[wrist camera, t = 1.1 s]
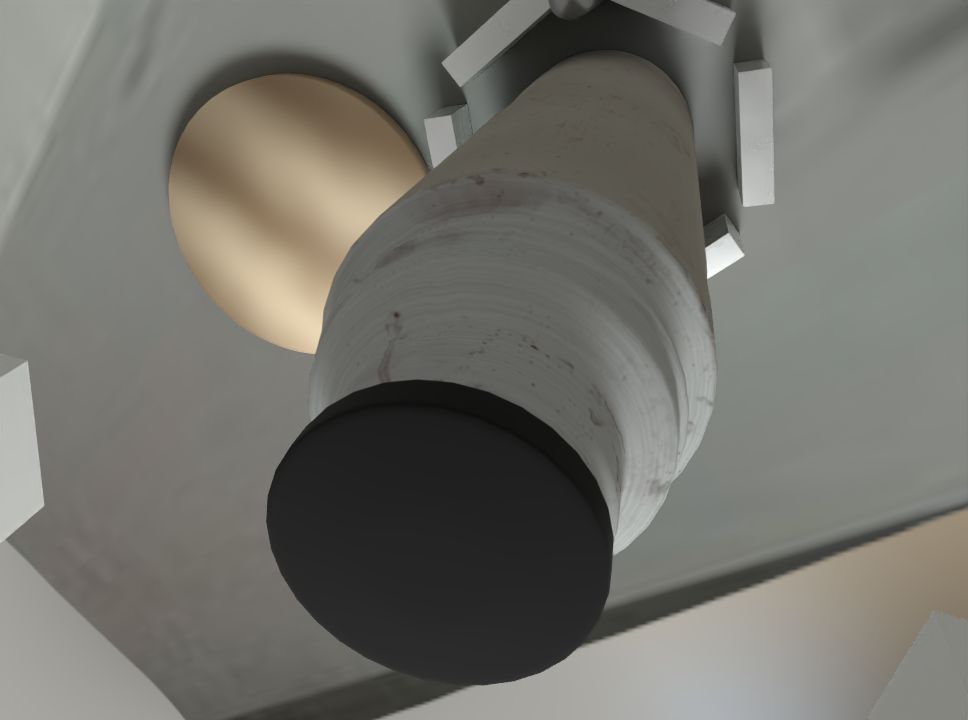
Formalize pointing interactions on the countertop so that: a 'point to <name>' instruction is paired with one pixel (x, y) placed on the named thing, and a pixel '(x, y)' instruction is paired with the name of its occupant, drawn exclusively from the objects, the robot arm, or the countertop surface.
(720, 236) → the collar
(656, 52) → the countertop surface
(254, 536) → the countertop surface
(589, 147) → the thermos bottle
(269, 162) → the pad
